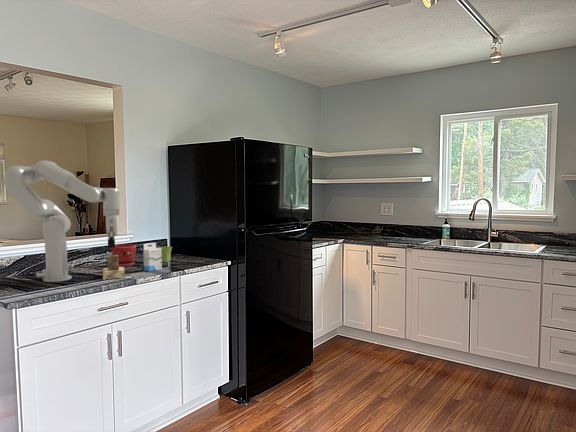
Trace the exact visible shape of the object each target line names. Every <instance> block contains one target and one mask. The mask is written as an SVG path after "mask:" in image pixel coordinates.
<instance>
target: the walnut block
mask: <svg viewBox="0 0 576 432" xmlns="http://www.w3.org/2000/svg"><path fill="white" fill-rule="evenodd" d="M107 268H108V271H110V270H119V257H118V255H112V254H109V255H108V254H107Z"/></svg>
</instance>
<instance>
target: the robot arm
mask: <svg viewBox="0 0 576 432" xmlns="http://www.w3.org/2000/svg"><path fill="white" fill-rule="evenodd" d="M41 181H48V182H50V183H52V184H54V185H56V186H58V187H60V188H62V189H64V190H65V191H67V192H68V193H70V194H71V195H74V196H75V197H78V198H79V199H81V200H84V201H86V202H88V203H101V202H102V203H103V205H102V208H103V209H102V210H103V211H102V213H103V215H102V216H105V232H106V235H107V236H108V237H107V248H108V249H112V248H115V245H116V239H115V236H118V217H119V216H120V190H119V188H118V187H97V186H96V187H95V186H91V185H90V184H88V183H86V182H83V181H82V180H80V179H79V178H77V177H76V175H75V174H74V173H72V172H71V171H69V170H67V169H64V168H63V167H60V166H59V165H58V164H57V163H55V162H54V161H51V160H45V159H44V160H39V161H38V162H37V163H35V164H32V165H29V166H28V165H27V166H23V165H14V166H11V167H9V168H8V169H7V170H6V172H5V173H4V176H3V184H4V187H5V189H6V191H7V192H8V194H9V195H10V196H11V197H12V198H13V199H14V200H15V201H16V202H17V203H18V204H19V205H20V206H21V207H22V208H23V209H24V211H26V212H27V213H28V214H29V215H30V216H31V217H32V218H34V219H37V220H39V219H40V220H42V221H44V222H43V224H42V233H43V234H42V235H43V240H44V250H45V251H44V252H45V271H43V272H36V273H35V277H36V278H42V281H43V282H46V283H57V282H58V283H59V282H65V281H69V280H71V279H72V275H70V274H69V266H68V265H69V264H68V246H67V236H66V233H67V232H68V231H69V230H70V228H71V227H72V222H71V219H70V218H69V216H67V215H66V214H65V213H64V212H63V210H61V209H60V208H59V207H58V206H57V204H55V203H54V201H51V200H49V199H46V198H41V197H40V196H39V195H38V194H37V193H36V192H35V191H34V190H33V189H32V188H30V186H28V184H32V183H37V182H41Z"/></svg>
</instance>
